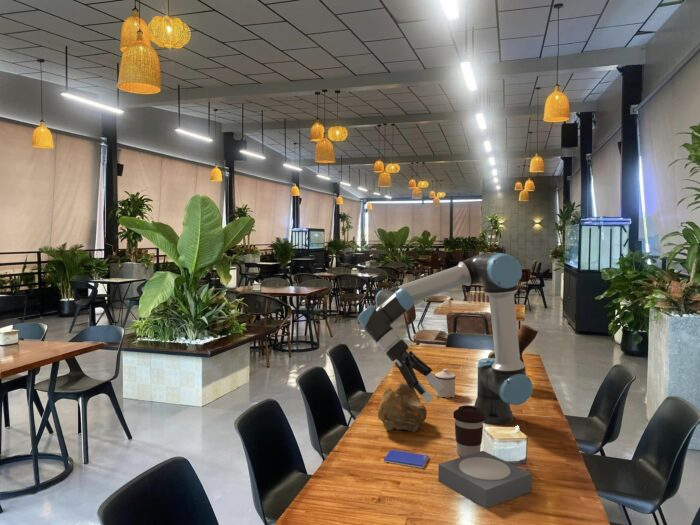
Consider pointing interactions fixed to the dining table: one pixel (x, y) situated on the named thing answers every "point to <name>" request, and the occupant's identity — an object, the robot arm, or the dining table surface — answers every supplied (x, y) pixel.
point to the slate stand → (485, 478)
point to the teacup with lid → (445, 384)
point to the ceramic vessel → (522, 339)
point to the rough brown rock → (401, 409)
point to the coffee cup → (468, 429)
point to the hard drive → (406, 458)
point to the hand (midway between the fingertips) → (436, 395)
